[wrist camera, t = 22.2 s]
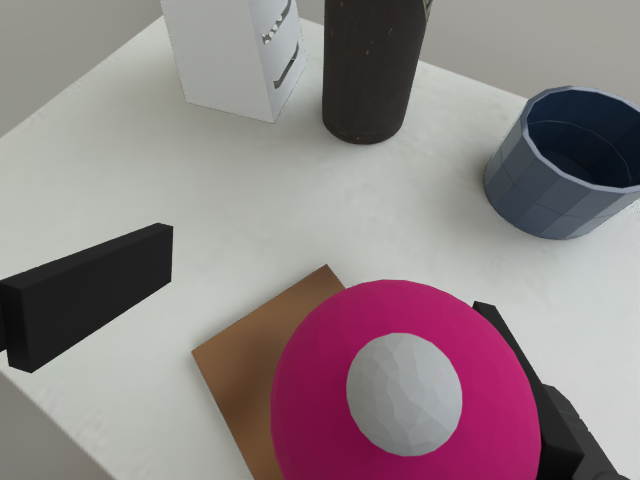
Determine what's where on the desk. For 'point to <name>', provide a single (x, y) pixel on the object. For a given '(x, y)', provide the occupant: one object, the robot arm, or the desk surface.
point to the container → (370, 65)
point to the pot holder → (258, 366)
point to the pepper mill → (401, 392)
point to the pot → (566, 162)
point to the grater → (236, 53)
